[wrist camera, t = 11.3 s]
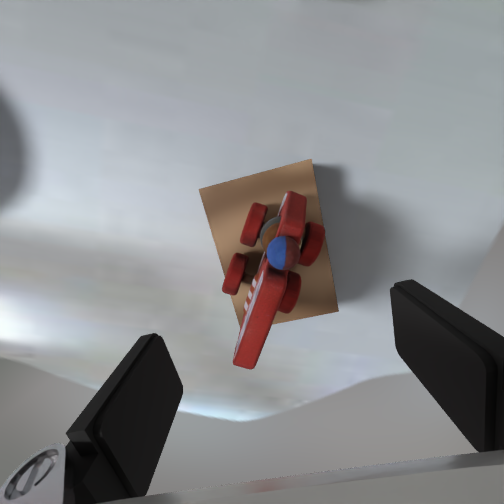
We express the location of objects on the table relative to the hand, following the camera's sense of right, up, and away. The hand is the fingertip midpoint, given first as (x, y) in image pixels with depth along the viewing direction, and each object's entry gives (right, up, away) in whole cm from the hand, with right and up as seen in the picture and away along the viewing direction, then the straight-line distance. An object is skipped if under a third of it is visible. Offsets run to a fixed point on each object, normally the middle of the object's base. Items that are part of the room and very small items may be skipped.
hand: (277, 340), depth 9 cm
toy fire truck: (+1, +4, +15) cm, 15 cm away
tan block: (+1, +4, +18) cm, 19 cm away
